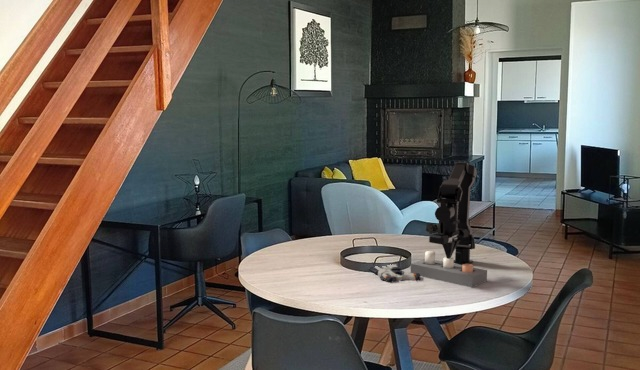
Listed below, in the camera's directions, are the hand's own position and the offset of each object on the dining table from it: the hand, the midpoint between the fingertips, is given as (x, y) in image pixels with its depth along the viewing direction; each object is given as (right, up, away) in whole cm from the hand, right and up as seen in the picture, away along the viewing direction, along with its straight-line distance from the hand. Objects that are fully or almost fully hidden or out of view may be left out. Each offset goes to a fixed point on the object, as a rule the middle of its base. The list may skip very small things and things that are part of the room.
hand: (448, 258), depth 231 cm
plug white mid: (0, -5, +1) cm, 5 cm away
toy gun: (-20, -7, +5) cm, 22 cm away
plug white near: (-6, -3, +6) cm, 9 cm away
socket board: (0, -7, +1) cm, 7 cm away
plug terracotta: (+6, -7, -5) cm, 10 cm away
